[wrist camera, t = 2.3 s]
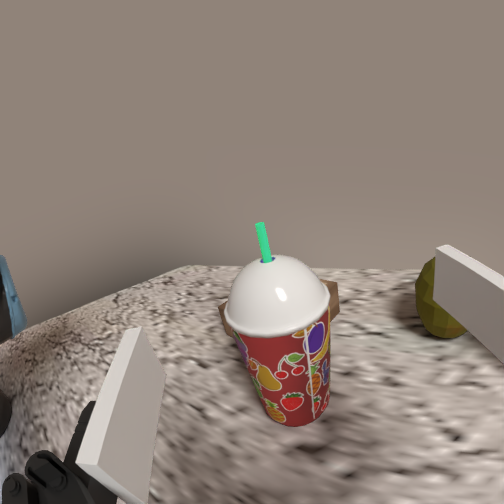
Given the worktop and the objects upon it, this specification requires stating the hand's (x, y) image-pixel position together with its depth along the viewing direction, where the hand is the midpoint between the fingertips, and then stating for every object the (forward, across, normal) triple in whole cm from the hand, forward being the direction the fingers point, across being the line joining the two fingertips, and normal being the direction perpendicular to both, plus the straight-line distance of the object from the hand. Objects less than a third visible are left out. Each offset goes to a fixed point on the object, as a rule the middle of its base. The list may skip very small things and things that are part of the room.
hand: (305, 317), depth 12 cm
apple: (+14, +21, -19) cm, 32 cm away
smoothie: (+10, 0, -19) cm, 21 cm away
